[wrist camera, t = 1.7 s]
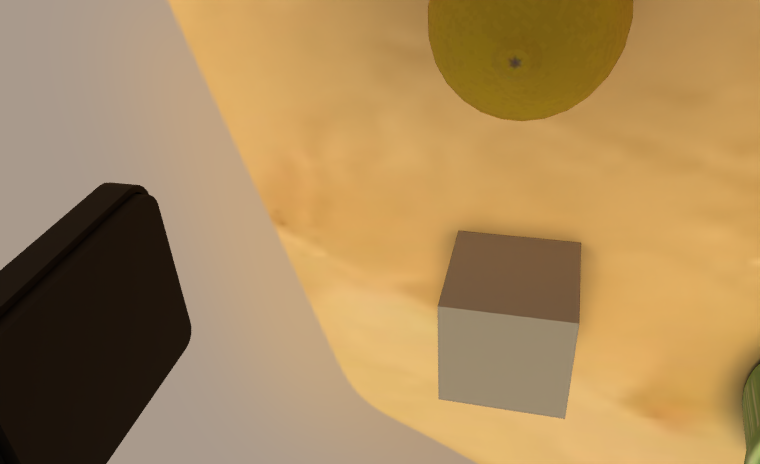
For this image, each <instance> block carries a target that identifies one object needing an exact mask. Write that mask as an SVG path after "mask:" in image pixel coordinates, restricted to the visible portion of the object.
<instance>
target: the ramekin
mask: <svg viewBox="0 0 760 464" xmlns="http://www.w3.org/2000/svg"><path fill="white" fill-rule="evenodd" d="M742 408H743V422H744V431H745V440H746V455H745V461H744V464H760V364H759V365H758V366H757V367H756V368H755V369H754V370H753V371H752V373H751V375H750V376H749V378H748V380H747V382H746V385H745V387H744V391H743V397H742Z"/></svg>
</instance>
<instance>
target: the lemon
mask: <svg viewBox="0 0 760 464" xmlns="http://www.w3.org/2000/svg"><path fill="white" fill-rule="evenodd" d="M632 19H633V0H430V1H429V6H428V29H429V40H430V44H431V48H432V51H433V55H434V59H435V62H436V65H437V66H438V68H439V70H440V72H441V73H442V75H443V77H444V79H445V80H446V82H447V84H448V85H449V86H450V87H451V88H452V89H453V90H454V91H455V92H456V93H457V94H458V95H459V96H460V97H461V98H462V99H463V100H464V101H465V102H467V103H468V104H470V105H471V106H473V107H474V108H476V109H477V110H479V111H480V112H483V113H486V114H488V115H491V116H494V117H497V118H500V119H507V120H516V121H528V120H537V119H544V118H547V117H550V116H553V115H556V114H558V113H561V112H564V111H567V110H569V109H570V108H572V107H573V106H575V105H576V104H578V103H579V102H581V101H582V100H584V99H586V98H587V97H588V96H589V95H590V94H591V93H592V92H593V91H594V90H595V89H596V88H597V87H598V86H599V85H600V84H601V83H602V82H603V81H604V80H605V79H606V78H607V77H608V75H609V74H610V72H611V71H612V69H613V67H614V65H615V64H616V62H617V60H618V59H619V57H620V55H621V53H622V52H623V50H624V47H625V44H626V40H627V37H628V33H629V30H630V26H631V22H632Z"/></svg>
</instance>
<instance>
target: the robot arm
mask: <svg viewBox="0 0 760 464" xmlns="http://www.w3.org/2000/svg"><path fill="white" fill-rule="evenodd" d="M190 337H191V323H190V319H189V316H188V312H187V308H186V305H185V301H184V297H183V294H182V290H181V287H180V283H179V279H178V275H177V272H176V268H175V264H174V261H173V257H172V253H171V250H170V246H169V242H168V239H167V235H166V231H165V228H164V224H163V220H162V217H161V213H160V210H159V206H158V203H157V201H156V199H155V198H154V197H153V196H151V195H149V194H148V192H147V190H146V189H145V188H144V187H142V186H140V185H131V184H119V183H104V184H102V185H100V186H99V187H98V188H96V189H95V190H94V191H93V192H92V193H91V194H89V195H88V196H87V197H86V198H85V199H84V200H82V201H81V202H80V203H79V204H78V205H77V206H75V207H74V208H73V209H72V210H71V211H69V212H68V213H67V214H66V215H65V216H64V217H63V218H61V219H60V220H59V221H58V222H57V223H55V224H54V225H53V226H52V227H51V228H50V229H48V230H47V231H46V232H45V233H44V234H42V235H41V236H40V237H39V238H38V239H37V240H35V241H34V242H33V243H32V244H31V245H30V246H29V247H27V248H26V249H25V250H24V251H23V252H21V253H20V254H19V255H18V256H17V257H16V258H14V259H13V260H12V261H11V262H10V263H9V264H7V265H6V266H5V267H4V268H3V269H2V270H0V464H106V463H107V462H108V460H109V459H110V457H111V456H112V455H113V453H114V452H115V450H116V449H117V447H118V446H119V445H120V443H121V442H122V440H123V439H124V437H125V436H126V434H127V433H128V432H129V430H130V429H131V427H132V426H133V424H134V423H135V421H136V420H137V419H138V417H139V416H140V414H141V413H142V411H143V410H144V408H145V407H146V405H147V404H148V403H149V401H150V400H151V398H152V397H153V395H154V394H155V392H156V391H157V389H158V388H159V386H160V385H161V384H162V382H163V381H164V379H165V378H166V377H167V375H168V374H169V372H170V371H171V369H172V368H173V366H174V365H175V364H176V362H177V361H178V359H179V358H180V356H181V355H182V353H183V352H184V351H185V349H186V347H187V346H188V344H189V341H190Z"/></svg>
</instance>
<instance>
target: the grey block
mask: <svg viewBox="0 0 760 464" xmlns="http://www.w3.org/2000/svg"><path fill="white" fill-rule="evenodd" d="M580 265H581V243H579V242H569V241H558V240H548V239H538V238H527V237H517V236H507V235H497V234H486V233H476V232H466V231H458V235H457V238H456V242H455V246H454V249H453V253H452V256H451V260H450V264H449V267H448V271H447V275H446V278H445V282H444V285H443V289H442V293H441V296H440V300H439V304H438V383H439V399H441V400H447V401H453V402H460V403H466V404H473V405H479V406H485V407H492V408H498V409H505V410H511V411H518V412H524V413H530V414H537V415H543V416H550V417H556V418H563V419H565V416H566V409H567V402H568V396H569V389H570V382H571V375H572V369H573V362H574V355H575V349H576V342H577V335H578V329H579V312H580Z"/></svg>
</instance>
